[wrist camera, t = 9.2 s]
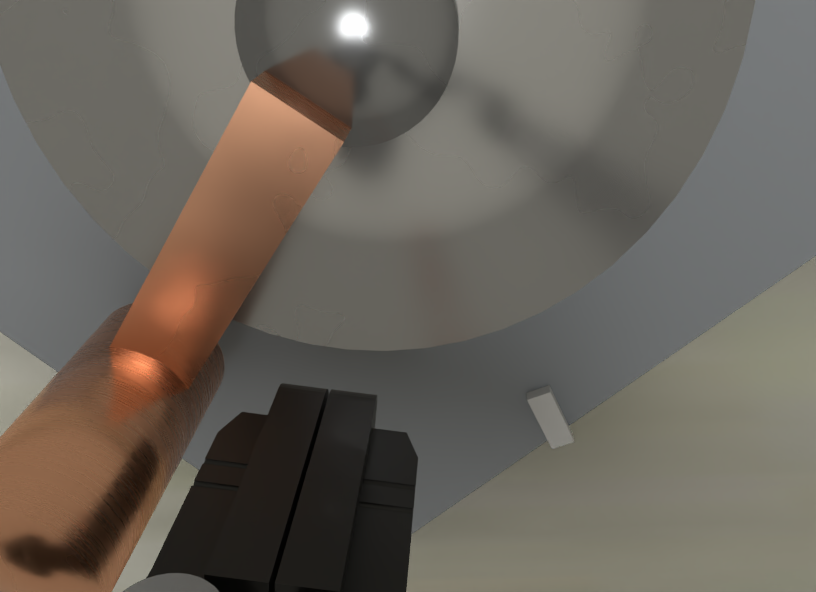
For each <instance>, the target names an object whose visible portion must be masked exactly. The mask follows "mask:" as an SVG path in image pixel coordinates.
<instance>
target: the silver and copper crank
mask: <svg viewBox="0 0 816 592" xmlns="http://www.w3.org/2000/svg"><path fill="white" fill-rule="evenodd" d="M754 5H755V0H0V66H1V69H2V71H3V74H4V76H5V79H6V81H7V84H8V86H9V89H10V91H11V94H12V96H13V99H14V101H15V103H16V105H17V107H18V109H19V110H20V112H21V114H22V116H23V118H24V120H25V122H26V124H27V126H28V128H29V129H30V131H31V133H32V135H33V137H34V139H35V141H36V143H37V144H38V146H39V147H40V149H41V150H42V152H43V153H44V155H45V156H46V158H47V159H48V161H49V162H50V164H51V165H52V167H53V168H54V170H55V171H56V173H57V174H58V176H59V177H60V179H61V180H62V182H63V183H64V185H65V186H66V187H67V188H68V190H69V191H70V192H71V193H72V194H73V196H74V197H75V198H76V199H77V200H78V202H79V203H80V204H81V205H82V206H83V208H84V209H85V210H86V211H87V213H88V214H89V215H90V216H91V217H92V219H93V220H94V221H95V222H96V223H97V224H98V225H99V226H100V227H101V228H102V229H103V230H104V231H105V232H107V233H108V234H109V235H110V236H111V237H112V238H113V239H114V240H115V241H116V242H117V243H118V244H119V245H120V246H121V247H122V248H123V249H124V250H125V251H126V252H127V253H129V254H130V255H131V256H132V257H134V258H135V259H136V260H137V261H139V262H140V263H141V264H142V265H144V266H145V267H146V268H147V269H149V270H150V272H149V274H148V276H147V278H146V280H145V282H144V283H143V285H142V287H141V289H140V291H139V293H138V295H137V297H136V298H135V300H134V302H133V303H131V304H128V305H125V306H122V307H121V308H119V309H117V310H115V311H114V312H113V313H111V314H110V315H109V316H108V317H107V319H106V320H105V321H104V322H103V323H102V324H101V325H100V326H99V327H98V329H97V330H96V331H95V332H94V333H93V334H92V335H91V336H90V338H89V339H88V340H87V341H86V342H85V343H84V344H83V345H82V346H81V348H80V349H79V350H78V351H77V352H76V353H75V354H74V355H73V357H72V358H71V359H70V360H69V361H68V362H67V363H66V364H65V365H64V367H63V368H62V369H61V370H60V371H59V372H58V373H57V374H56V376H55V377H54V378H53V379H52V380H51V381H50V382H49V383H48V384H47V386H46V387H45V388H44V389H43V390H42V391H41V392H40V393H39V395H38V396H37V397H36V398H35V399H34V400H33V401H32V402H31V403H30V405H29V406H28V407H27V408H26V409H25V410H24V411H23V412H22V414H21V415H20V416H19V417H18V418H17V419H16V420H15V421H14V423H13V424H12V425H11V426H10V427H9V428H8V429H7V430H6V431H5V433H4V434H3V435H2V436H1V437H0V592H112V590H113V588H114V586H115V584H116V582H117V580H118V579H119V577H120V575H121V573H122V571H123V569H124V567H125V565H126V563H127V561H128V560H129V558H130V556H131V554H132V552H133V550H134V548H135V546H136V544H137V542H138V541H139V539H140V537H141V535H142V533H143V531H144V529H145V527H146V525H147V523H148V522H149V520H150V518H151V516H152V514H153V512H154V510H155V508H156V506H157V504H158V503H159V501H160V499H161V497H162V495H163V493H164V491H165V489H166V487H167V485H168V484H169V482H170V480H171V478H172V476H173V474H174V472H175V470H176V468H177V466H178V464H179V463H180V461H181V459H182V457H183V455H184V453H185V451H186V449H187V447H188V445H189V444H190V442H191V440H192V438H193V436H194V434H195V432H196V430H197V428H198V426H199V425H200V423H201V421H202V419H203V417H204V415H205V413H206V411H207V409H208V407H209V406H210V404H211V402H212V400H213V398H214V396H215V394H216V392H217V390H218V388H219V387H220V385H221V383H222V380H223V376H224V357H223V354H222V351H221V348H220V346H219V344H218V341H219V340H220V338H221V337H222V335H223V333H224V332H225V330H226V329H227V327H228V325H229V324H230V322H231V321H232V320H235V321H237V322H240V323H243V324H245V325H248V326H250V327H253V328H256V329H258V330H261V331H264V332H266V333H269V334H273V335H276V336H280V337H284V338H288V339H292V340H296V341H300V342H303V343H307V344H313V345H320V346H327V347H334V348H340V349H347V350H374V351H393V350H407V349H420V348H429V347H434V346H440V345H445V344H450V343H456V342H461V341H466V340H469V339H472V338H476V337H479V336H482V335H485V334H488V333H492V332H495V331H498V330H501V329H504V328H507V327H509V326H511V325H514V324H516V323H518V322H520V321H523V320H525V319H527V318H529V317H532V316H534V315H536V314H539V313H541V312H543V311H544V310H546V309H548V308H550V307H551V306H553V305H555V304H556V303H558V302H560V301H562V300H563V299H565V298H567V297H568V296H570V295H572V294H573V293H575V292H577V291H579V290H580V289H581V288H583V287H584V286H585V285H586V284H588V283H589V282H590V281H592V280H593V279H594V278H596V277H597V276H598V275H600V274H601V273H602V272H604V271H605V270H606V269H608V268H609V267H610V266H612V265H613V264H614V263H615V262H616V261H617V260H618V259H619V258H620V257H621V256H622V255H623V254H625V253H626V252H627V251H628V250H629V249H630V248H631V247H632V246H633V245H634V244H635V243H636V242H637V241H638V240H639V239H640V238H641V237H642V236H643V235H644V234H645V233H646V232H647V231H648V230H649V229H650V228H651V226H652V225H653V224H654V223H655V221H656V220H657V219H658V218H659V217H660V215H661V214H662V213H663V212H664V211H665V209H666V208H667V207H668V206H669V205H670V203H671V202H672V201H673V200H674V198H675V197H676V196H677V194H678V193H679V191H680V190H681V188H682V187H683V185H684V183H685V182H686V180H687V179H688V177H689V176H690V174H691V173H692V171H693V170H694V168H695V166H696V165H697V163H698V162H699V160H700V159H701V157H702V156H703V154H704V152H705V150H706V147H707V145H708V143H709V141H710V139H711V137H712V135H713V133H714V131H715V129H716V127H717V125H718V123H719V121H720V119H721V117H722V115H723V113H724V111H725V108H726V106H727V103H728V100H729V97H730V94H731V91H732V88H733V85H734V83H735V80H736V77H737V74H738V71H739V68H740V65H741V62H742V59H743V56H744V51H745V47H746V42H747V38H748V33H749V28H750V24H751V19H752V14H753V10H754Z"/></svg>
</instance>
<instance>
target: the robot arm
mask: <svg viewBox="0 0 816 592" xmlns="http://www.w3.org/2000/svg"><path fill="white" fill-rule="evenodd" d="M376 410H377V395H373V394H365V393H357V392H349V391H342V390H334V389H331V391H330V393H329V390H328V389H324V388H316V387H308V386H300V385H293V384H285V383H281V384H280V386H279V388H278V390H277V393H276V395H275V398H274V400H273V403H272V405H271V408H270V410H269V413H268V415H264V414H256V413H248V412H241V413H240V414H239V415H237V416H236V417H235V418H234V419H233V420H231V421H230V422H229V423H228V424H227V425H226V426H224V427H223V428H222V429H221V430H220V431H218V432H217V434H216V436H215V439H214V441H213V443H212V445H211V447H210V449H209V451H208V453H207V455H206V457H205V462H204V464H202V466H201V468H200V470H199V472H198V474H197V476H196V478H195V480H194V485H193V486H191V488H190V491H189V493H188V495H187V497H186V499H185V501H184V503H183V505H182V507H181V509H180V511H179V513H178V515H177V518H176V520H175V522H174V524H173V526H172V528H171V530H170V532H169V534H168V536H167V538H166V540H165V542H164V545H163V547H162V549H161V551H160V553H159V555H158V557H157V559H156V561H155V563H154V565H153V567H152V569H151V571H150V573H149V575H148V576H147V578H146V579H144V580H142V581H140V582H137V583H135V584H134V585H132V586H130V587H129V588H127V589H126V590H124V591H123V592H406V587H407V576H408V565H409V554H410V543H411V532H412V521H413V509H414V499H415V487H416V477H417V466H418V456H417V454H416V452H415V450H414V447H413V445H412V443H411V441H410V439H409V437H408V434H407V432H399V431H391V430H383V429H375V420H376Z"/></svg>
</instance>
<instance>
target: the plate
mask: <svg viewBox="0 0 816 592" xmlns="http://www.w3.org/2000/svg"><path fill="white" fill-rule="evenodd" d="M815 256H816V0H755V5H754V10H753V14H752V19H751V24H750V28H749V33H748V38H747V42H746V47H745V51H744V56H743V59H742V62H741V65H740V68H739V71H738V74H737V77H736V80H735V83H734V85H733V88H732V91H731V94H730V97H729V100H728V103H727V106H726V108H725V111H724V113H723V115H722V117H721V119H720V121H719V123H718V125H717V127H716V129H715V131H714V133H713V135H712V137H711V139H710V141H709V143H708V145H707V147H706V150H705V152H704V154H703V156H702V157H701V159H700V160H699V162H698V163H697V165H696V166H695V168H694V170H693V171H692V173H691V174H690V176H689V177H688V179H687V180H686V182H685V183H684V185H683V187H682V188H681V190H680V191H679V193H678V194H677V196H676V197H675V198H674V200H673V201H672V202H671V203H670V205H669V206H668V207H667V208H666V209H665V211H664V212H663V213H662V214H661V215H660V217H659V218H658V219H657V220H656V221H655V223H654V224H653V225H652V226H651V228H650V229H649V230H648V231H647V232H646V233H645V234H644V235H643V236H642V237H641V238H640V239H639V240H638V241H637V242H636V243H635V244H634V245H633V246H632V247H631V248H630V249H629V250H628V251H627V252H626V253H625V254H623V255H622V256H621V257H620V258H619V259H618V260H617V261H616V262H615V263H614V264H613V265H612V266H610V267H609V268H608V269H606V270H605V271H604V272H602V273H601V274H600V275H598V276H597V277H596V278H594V279H593V280H592V281H590V282H589V283H588V284H586V285H585V286H584V287H583V288H581V289H580V290H579V291H577V292H575V293H573V294H572V295H570V296H568V297H567V298H565V299H563V300H562V301H560V302H558V303H556V304H555V305H553V306H551V307H550V308H548V309H546V310H544V311H543V312H541V313H539V314H536V315H534V316H532V317H529V318H527V319H525V320H523V321H520V322H518V323H516V324H514V325H511V326H509V327H507V328H504V329H501V330H498V331H495V332H492V333H488V334H485V335H482V336H479V337H476V338H472V339H469V340H466V341H461V342H456V343H450V344H445V345H440V346H434V347H429V348H420V349H407V350H393V351H374V350H347V349H340V348H334V347H327V346H320V345H313V344H307V343H303V342H300V341H296V340H292V339H288V338H284V337H280V336H276V335H273V334H269V333H266V332H264V331H261V330H258V329H256V328H253V327H250V326H248V325H245V324H243V323H240V322H237V321H235V320H232V321H231V322H230V324H229V325H228V327H227V329H226V330H225V332H224V333H223V335H222V337H221V338H220V340H219V341H218V344H219V346H220V348H221V351H222V354H223V357H224V376H223V380H222V383H221V385H220V387H219V388H218V390H217V392H216V394H215V396H214V398H213V400H212V402H211V404H210V406H209V407H208V409H207V411H206V413H205V415H204V417H203V419H202V421H201V423H200V425H199V426H198V428H197V430H196V432H195V434H194V436H193V438H192V440H191V442H190V444H189V445H188V447H187V449H186V451H185V453H184V455H183V457H182V458H183V459H184V460H185V461H187V462H188V463H190V464H191V465H193V466H194V467H196V468H197V469H198V470H200V468H201V466H202V464H204V462H205V457H206V455H207V453H208V451H209V449H210V447H211V445H212V443H213V441H214V439H215V436H216V434H217V432H218V431H220V430H221V429H222V428H223V427H224V426H226V425H227V424H228V423H229V422H230V421H231V420H233V419H234V418H235V417H236V416H237V415H239V414H240V413H241V412H248V413H256V414H264V415H268V413H269V410H270V408H271V405H272V403H273V400H274V398H275V395H276V393H277V390H278V388H279V386H280V384H281V383H285V384H293V385H300V386H308V387H316V388H324V389H328V390H329V393H330V391H331V389H334V390H342V391H349V392H357V393H365V394H373V395H377V410H376V420H375V429H383V430H391V431H399V432H407V434H408V437H409V439H410V441H411V443H412V445H413V447H414V450H415V452H416V454H417V456H418V466H417V477H416V487H415V499H414V509H413V521H412V532H411V534H412V533H414V532H415V531H417V530H418V529H420V528H421V527H422V526H424V525H425V524H427V523H428V522H430V521H431V520H433V519H434V518H436V517H437V516H438V515H440V514H441V513H443V512H444V511H446V510H447V509H449V508H450V507H451V506H453V505H454V504H456V503H457V502H459V501H460V500H462V499H463V498H465V497H466V496H467V495H469V494H470V493H472V492H473V491H475V490H476V489H478V488H479V487H481V486H482V485H483V484H485V483H486V482H488V481H489V480H491V479H492V478H494V477H495V476H497V475H498V474H499V473H501V472H502V471H504V470H505V469H507V468H508V467H510V466H511V465H512V464H514V463H515V462H517V461H518V460H520V459H521V458H523V457H524V456H526V455H527V454H528V453H530V452H531V451H533V450H534V449H536V448H537V447H539V446H540V445H542V444H543V443H544V442H546V441H547V440H548V442H549V444H550V446H551V448H552V449H554V448H557V447H560V446H564V445H567V444H570V443H573V442H574V437H573V433H572V431H571V429H570V427H569V425H571V424H572V423H573V422H575V421H576V420H578V419H579V418H581V417H582V416H584V415H585V414H587V413H588V412H589V411H591V410H592V409H594V408H595V407H597V406H598V405H600V404H601V403H603V402H604V401H605V400H607V399H608V398H610V397H611V396H613V395H614V394H616V393H617V392H618V391H620V390H621V389H623V388H624V387H626V386H627V385H629V384H630V383H632V382H633V381H634V380H636V379H637V378H639V377H640V376H642V375H643V374H645V373H646V372H648V371H649V370H650V369H652V368H653V367H655V366H656V365H658V364H659V363H661V362H662V361H664V360H665V359H666V358H668V357H669V356H671V355H672V354H674V353H675V352H677V351H678V350H679V349H681V348H682V347H684V346H685V345H687V344H688V343H690V342H691V341H693V340H694V339H695V338H697V337H698V336H700V335H701V334H703V333H704V332H706V331H707V330H709V329H710V328H711V327H713V326H714V325H716V324H717V323H719V322H720V321H722V320H723V319H725V318H726V317H727V316H729V315H730V314H732V313H733V312H735V311H736V310H738V309H739V308H740V307H742V306H743V305H745V304H746V303H748V302H749V301H751V300H752V299H754V298H755V297H756V296H758V295H759V294H761V293H762V292H764V291H765V290H767V289H768V288H770V287H771V286H772V285H774V284H775V283H777V282H778V281H780V280H781V279H783V278H784V277H786V276H787V275H788V274H790V273H791V272H793V271H794V270H796V269H797V268H799V267H800V266H801V265H803V264H804V263H806V262H807V261H809V260H810V259H812V258H813V257H815ZM149 272H150V270H149V269H147V268H146V267H145V266H144V265H142V264H141V263H140V262H139V261H137V260H136V259H135V258H134V257H132V256H131V255H130V254H129V253H127V252H126V251H125V250H124V249H123V248H122V247H121V246H120V245H119V244H118V243H117V242H116V241H115V240H114V239H113V238H112V237H111V236H110V235H109V234H108V233H107V232H105V231H104V230H103V229H102V228H101V227H100V226H99V225H98V224H97V223H96V222H95V221H94V220H93V219H92V217H91V216H90V215H89V214H88V213H87V211H86V210H85V209H84V208H83V206H82V205H81V204H80V203H79V202H78V200H77V199H76V198H75V197H74V196H73V194H72V193H71V192H70V191H69V190H68V188H67V187H66V186H65V185H64V183H63V182H62V180H61V179H60V177H59V176H58V174H57V173H56V171H55V170H54V168H53V167H52V165H51V164H50V162H49V161H48V159H47V158H46V156H45V155H44V153H43V152H42V150H41V149H40V147H39V146H38V144H37V143H36V141H35V139H34V137H33V135H32V133H31V131H30V129H29V128H28V126H27V124H26V122H25V120H24V118H23V116H22V114H21V112H20V110H19V109H18V107H17V105H16V103H15V101H14V99H13V96H12V94H11V91H10V89H9V86H8V84H7V81H6V79H5V76H4V74H3V71H2V69H1V66H0V332H1V333H3V334H4V335H6V336H7V337H8V338H10V339H11V340H13V341H14V342H16V343H17V344H18V345H20V346H21V347H23V348H24V349H26V350H27V351H29V352H30V353H31V354H33V355H34V356H36V357H37V358H39V359H40V360H42V361H43V362H44V363H46V364H47V365H49V366H50V367H52V368H53V369H54V370H56V371H57V372H59V371H60V370H61V369H62V368H63V367H64V365H65V364H66V363H67V362H68V361H69V360H70V359H71V358H72V357H73V355H74V354H75V353H76V352H77V351H78V350H79V349H80V348H81V346H82V345H83V344H84V343H85V342H86V341H87V340H88V339H89V338H90V336H91V335H92V334H93V333H94V332H95V331H96V330H97V329H98V327H99V326H100V325H101V324H102V323H103V322H104V321H105V320H106V319H107V317H108V316H109V315H110V314H111V313H113V312H114V311H115V310H117V309H119V308H121V307H122V306H125V305H128V304H131V303H133V302H134V300H135V298H136V297H137V295H138V293H139V291H140V289H141V287H142V285H143V283H144V282H145V280H146V278H147V276H148V274H149Z"/></svg>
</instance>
